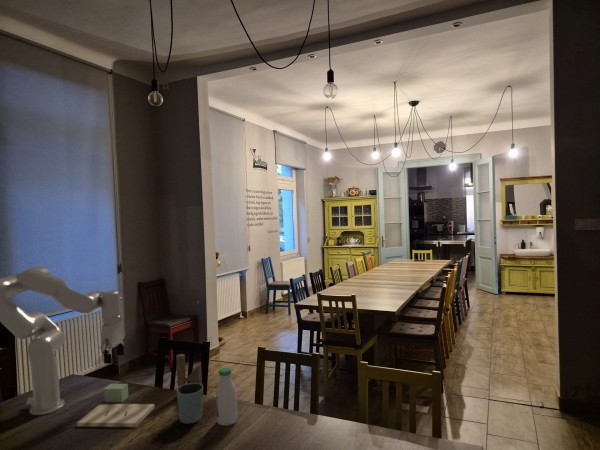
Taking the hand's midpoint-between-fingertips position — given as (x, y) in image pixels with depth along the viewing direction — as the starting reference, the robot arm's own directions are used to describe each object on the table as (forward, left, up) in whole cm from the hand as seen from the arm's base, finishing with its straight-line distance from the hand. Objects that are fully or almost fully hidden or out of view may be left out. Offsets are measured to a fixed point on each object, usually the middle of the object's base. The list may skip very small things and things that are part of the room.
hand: (114, 358), depth 175 cm
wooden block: (+31, +5, -19) cm, 36 cm away
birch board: (+8, -13, -19) cm, 24 cm away
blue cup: (+39, -14, -19) cm, 45 cm away
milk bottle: (+54, -16, -19) cm, 59 cm away
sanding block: (0, 0, -19) cm, 19 cm away
